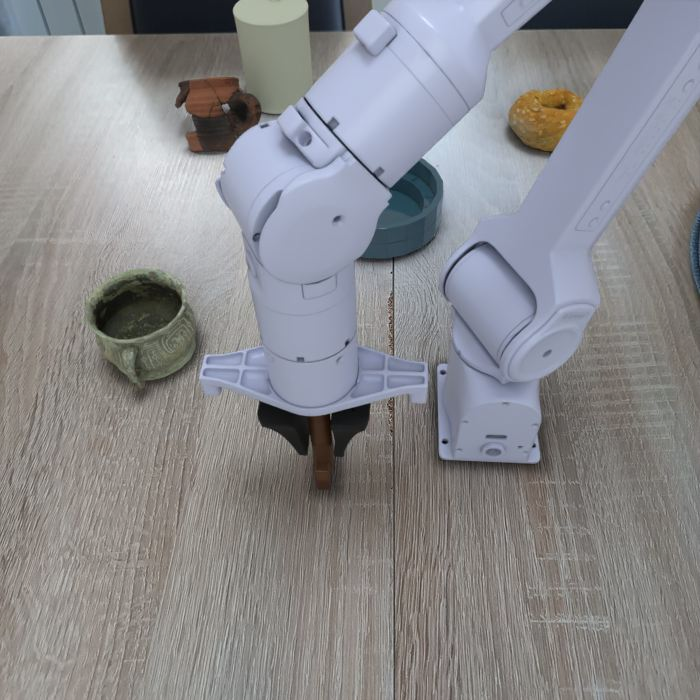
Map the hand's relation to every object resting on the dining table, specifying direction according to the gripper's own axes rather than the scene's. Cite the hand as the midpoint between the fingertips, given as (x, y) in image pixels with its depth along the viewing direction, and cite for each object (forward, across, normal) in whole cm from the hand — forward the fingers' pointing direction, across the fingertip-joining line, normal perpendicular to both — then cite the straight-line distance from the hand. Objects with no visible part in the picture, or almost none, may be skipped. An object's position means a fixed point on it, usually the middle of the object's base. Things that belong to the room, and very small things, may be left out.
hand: (322, 444), depth 49 cm
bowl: (+4, -3, -31) cm, 31 cm away
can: (+5, +11, -56) cm, 57 cm away
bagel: (+1, -67, -64) cm, 93 cm away
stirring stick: (+4, 0, 0) cm, 4 cm away
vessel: (+5, +17, -12) cm, 21 cm away
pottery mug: (+5, +17, -47) cm, 50 cm away
